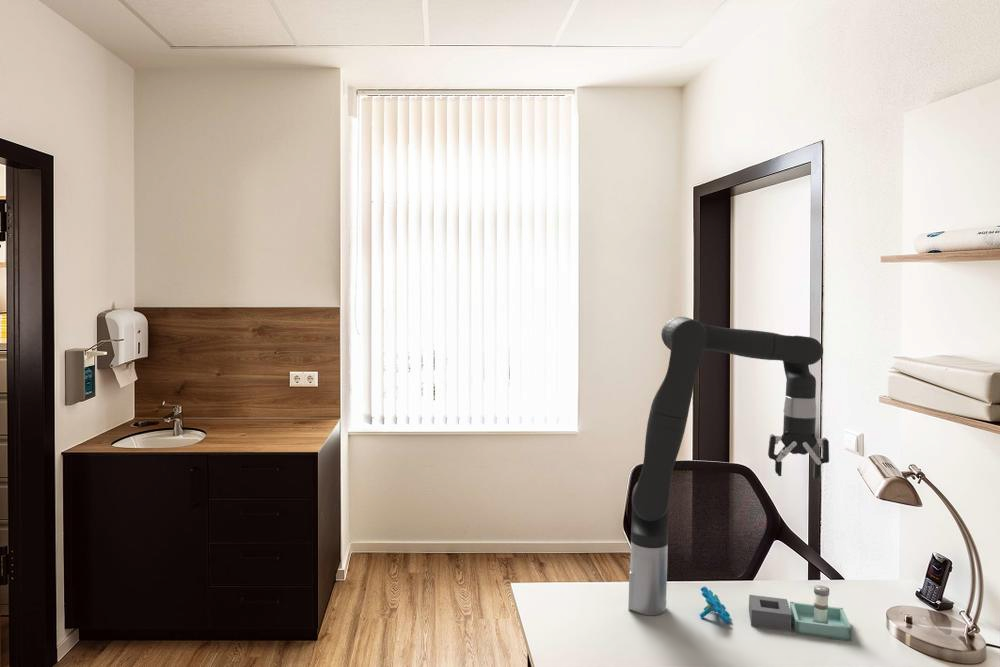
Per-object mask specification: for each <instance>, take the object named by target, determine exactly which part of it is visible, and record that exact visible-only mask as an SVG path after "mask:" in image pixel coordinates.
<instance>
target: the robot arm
mask: <svg viewBox="0 0 1000 667" xmlns="http://www.w3.org/2000/svg"><path fill="white" fill-rule="evenodd" d="M660 335H661V339H662V343H663V344H664V346H665V347H666V348H667V349H668V350H670V354H669V359H668V360H669V361H668V366H667V367H668V368H667V371H666V373H665V376H664V379H663V381H662V383H661V384H660V386H659V388H658V390H657V391H656V393H655V395H654V398H653V399H652V403H651V406H650V411H649V415H648V418H647V419H648V420H647V424H646V431H645V433H646V434H645V439H644V440H645V441H644V455H643V456H644V457H643V464H642V467H641V472H640V474H639V477H638V481H637V482H636V483H635V485H634V487H633V489H632V494H631V523H630V524H631V527H630V528H631V529H630V565H629V566H630V568H629V573H628V575H629V576H628V577H629V578H628V579H629V580H628V608H627V609H628V611H629V610H630V611H633V612H635V613H637V614H641V615H646V616H658V615H661V614H664V613H665V612H666V610H667V588H668V583H667V582H668V550H669V549H668V548H669V547H668V546H669V545H668V544H669V511H670V510H669V509H670V495H671V494H670V493H671V483H672V477H673V471H674V466H675V464H676V461H677V459H678V455H679V452H680V449H681V447H682V446H681V445H682V442H683V438H684V434H685V431H686V426H687V422H688V417H689V412H690V406H691V402H692V397H693V392H694V389H695V388H694V386H695V383H696V378H697V374H698V371H699V368H700V365H701V362H702V359H703V356H704V353H705V351H711V352H712V351H713V352H719V353H723V354H730V355H732V356H733V355H735V356H739V357H744V358H749V359H757V360H765V361H781V362H782V363H783V368H784V370H783V371H784V374H785V377H786V385H785V399H784V407H783V426H782V427H783V431H782V435H781V436H779V435H775V434H773V433H771V434H770V435H769V442H768V450H767V451H768V452H767V456H768V458H769V459H770V460H774V462H775V463H774V471H775V474H777V477H782V468H783V467H782V466H783V462H782V461H783V460H784V459H785V458H786V456H787V455H788V454H790V453H791V454H792V455H798V454H800V455H807V454H809V455H810V457H811V458H812V460H813V470H812V471H813V472H812V473H813V474H812V478H813V479H814V480H818V478H820V476H821V468H822V466H821V465H822V464H828V463H829V462H830V447H829V446H830V444H829V440H828V439H827V438H826V437H823V438H817V437H816V423H817V422H816V419H817V402H816V400H817V399H816V396H817V394H816V393H817V381H816V377H815V375H813V374H812V373H811V372H810V366H812V365H815V364H816V363H818V362H819V361H820V360H821V359H822V357H823V355H824V347H823V346H822V344H821V342H820V341H819V340H818V339H816V338H814V337H811V336H803V335H785V334H779V333H775V332H771V331H763V330H752V329H741V328H732V327H731V328H730V327H729V328H728V327H723V326H722V327H721V326H715V325H708V324H704V323H702V322H700V321H699V320H696V319H693V318H689V317H686V316H677V317H674V318H672V319H670V320H668V321H667V322H666V323H665V324H664V325H663V327H662V330H661V334H660ZM780 441H781V443H782V444H783V445H784V446H783V447H782V448H780V450H779V452H778V453H777V454H776V453H775V449H776V445H778V444H779V442H780ZM817 444H818V446H819V447H820V448H821V451H822V452H821V455H822V456H821V457H819V456H818V455H817V454H816V453H815V451H814V450H813V448H814V447H815V446H816V445H817Z"/></svg>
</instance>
